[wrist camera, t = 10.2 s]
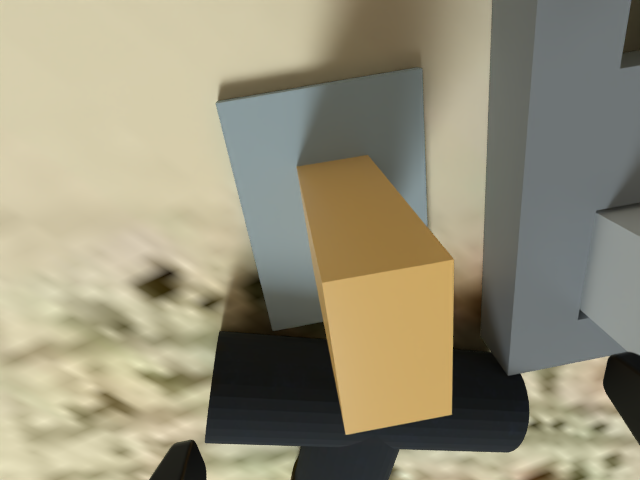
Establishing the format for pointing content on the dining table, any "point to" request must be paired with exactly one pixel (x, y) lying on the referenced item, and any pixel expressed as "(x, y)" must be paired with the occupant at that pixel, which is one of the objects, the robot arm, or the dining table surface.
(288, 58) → the dining table surface
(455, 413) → the pipe connector
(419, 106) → the slate mat
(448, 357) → the tan rectangular block
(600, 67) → the header
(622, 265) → the grey plug
